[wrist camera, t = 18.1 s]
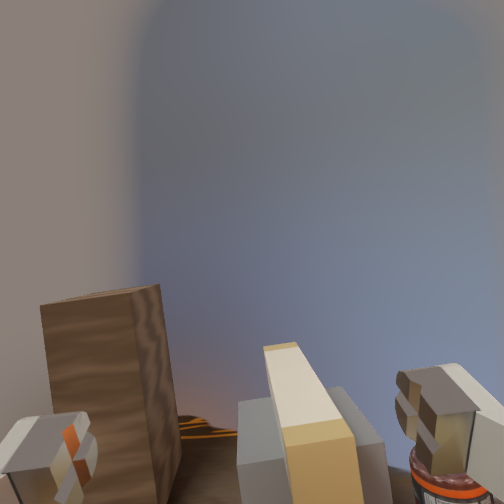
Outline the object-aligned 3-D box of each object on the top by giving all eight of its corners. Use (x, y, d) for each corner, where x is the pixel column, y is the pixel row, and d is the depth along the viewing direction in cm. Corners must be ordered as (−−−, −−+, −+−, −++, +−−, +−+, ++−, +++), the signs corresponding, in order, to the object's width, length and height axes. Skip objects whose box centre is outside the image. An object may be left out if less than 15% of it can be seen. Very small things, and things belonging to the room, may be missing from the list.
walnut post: (160, 524, 38) (129, 292, 38) (70, 539, 38) (39, 305, 38) (182, 452, 52) (159, 283, 52) (116, 463, 52) (94, 292, 52)
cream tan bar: (364, 505, 18) (354, 436, 18) (295, 516, 17) (285, 447, 18) (299, 374, 38) (295, 341, 38) (267, 379, 37) (263, 346, 38)
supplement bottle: (426, 524, 33) (409, 408, 33) (502, 545, 30) (482, 416, 30) (418, 577, 28) (398, 440, 28) (508, 610, 25) (485, 455, 25)
